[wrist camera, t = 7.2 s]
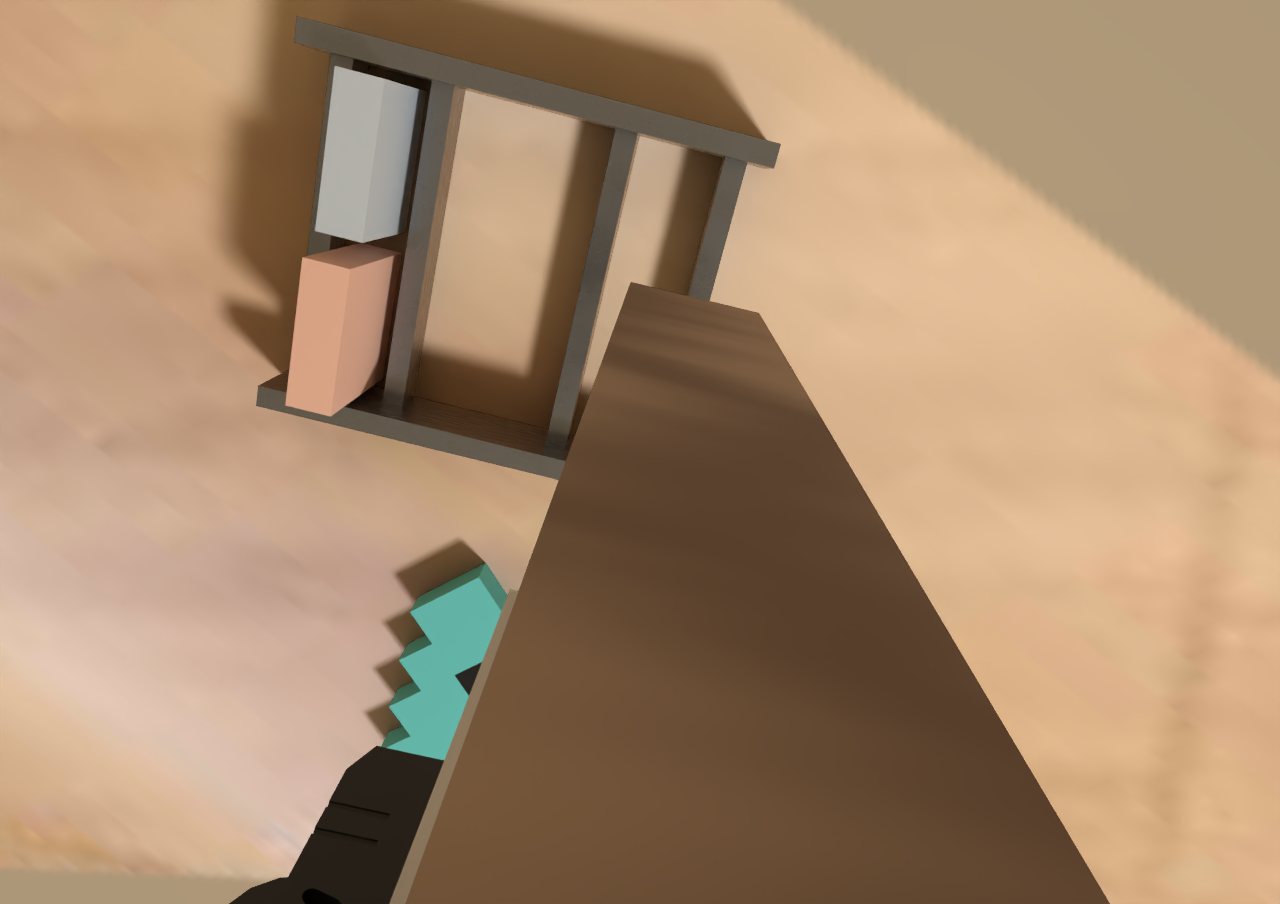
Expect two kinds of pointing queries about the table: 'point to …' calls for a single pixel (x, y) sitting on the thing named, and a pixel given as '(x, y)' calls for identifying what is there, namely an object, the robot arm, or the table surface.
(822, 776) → the walnut sheet
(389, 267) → the terracotta offcut
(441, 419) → the floor rack
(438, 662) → the alien figure
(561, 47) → the table surface
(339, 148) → the slate offcut
